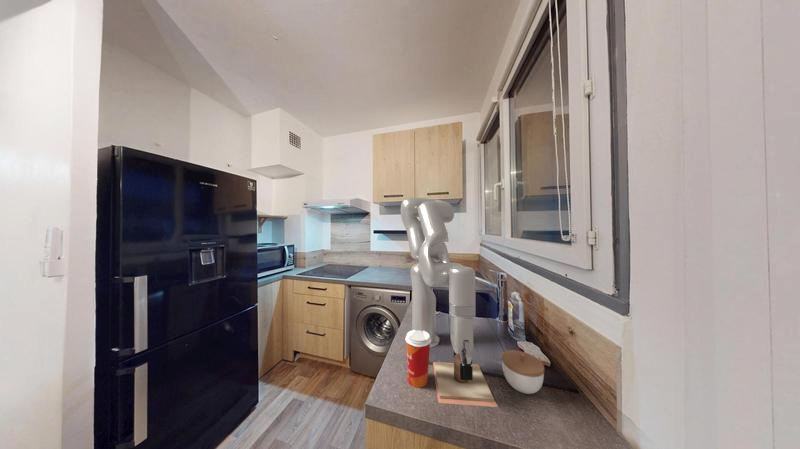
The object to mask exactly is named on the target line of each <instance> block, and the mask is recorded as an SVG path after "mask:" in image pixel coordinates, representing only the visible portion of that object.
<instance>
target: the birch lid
mask: <svg viewBox="0 0 800 449" xmlns="http://www.w3.org/2000/svg"><path fill="white" fill-rule="evenodd" d="M465 358H466V355H463V359H465ZM434 362H435V370H436V377H437V384H438V391H439V397H440V398H441V399H456V400H471V401H485V402H494V399H495V398H493V397H494V396H492V395H493V393H492V391H491V389H490V387H489V384H488V383H486V382H487V380H486V379H484V378H485V376H484V374H483V372H482V369H481V368H479V367H480V366H478V365H479V364H477V365H473V379H472V380H461V379H460V364H461V357H460V354H458V355H455V356H454V355H453V362H442V363H436V362H437V361H434ZM480 369H481V370H480ZM482 374H483V375H482ZM483 376H484V377H483ZM485 380H486V381H485ZM487 384H488V385H487ZM489 389H490V390H489ZM490 391H491V392H490ZM491 393H492V394H491Z"/></svg>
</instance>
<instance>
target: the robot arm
mask: <svg viewBox="0 0 800 449" xmlns="http://www.w3.org/2000/svg"><path fill="white" fill-rule="evenodd" d="M400 204H401V205H400V217H401V221H402V223H403V225H404V228H405V230H406V234H407V241H408V247H409V253H410V255H411V258H412V259H413V260H415V261H418V262H417V263H415V264H413V265H412V266H411V268H410V272H409V274H410V280H411V292H412V293H411V294H412V295H411V296H412V298H411V300H412V301H411V302H412V304H411V306H412V307H411V308H412V309H411V314H412V315H411V330H417V331H418V330H421V331H426V332H427V333H428V334H429V335H430V338H431V343H430V348H431V349H432V348H434V347H437V346H438V345H439V344H440V337H439V336H438V334H436V327H437V326H436V323H437V322H436V321H437V318H436V317H437V316H436V314H437V312H436V311H437V309H436V308H437V296H436V295H435V292H434V291H433V290H432V289H431V288H439V287H448V307H449V308H448V313H449V315H450V316H451V317H450V333H449V334H450V335H449V337H450V338H449V339H450V343H451V346H452V349H453V357H454V356H455V355H458V354H460V357H461V364H460V379H461V380H472V379H473V364H474V363H473V354H474V323H473V318H475V317H476V313H477V312H476V271H475V269H474V268H472V267H470V266H464V265H462V264H461V263H459V262H451V260H450V259H451V258H450V256H449V255H450V254H449V252H448V251H449V250H448V248H447V244H446V243H445V241H446V239H448V236H449V235H448V234H449V233H448V230H447V227H446V224H448V223H451V222H452V221H453V219H454V216H455V210H454V209H455V208H454V207H453V206H452V204H451V203H450V202H448V201H444V200H440V199H435V198H425V197H424V198H423V197H408V198H404V200H402V201H401V203H400ZM432 260H433V261H432ZM463 355H465V356H466V358H465V359H463Z"/></svg>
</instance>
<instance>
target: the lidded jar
mask: <svg viewBox="0 0 800 449" xmlns="http://www.w3.org/2000/svg"><path fill="white" fill-rule="evenodd" d="M501 361H502V362H501V364H502V366H501V367H502V371H503V375H504V377H505V380H506V381H507V383H508V384H509V385H510V386H511V387H512V388H513V389H514V390H516V391H517V392H519V393H522V394H525V395H532V394H536V393H538V392H539V391H540V390H541V388H542V386H543V383H544V380H545V379H544V377H545V365H544V363H543V362H542V361H541V360H540V359H539V358H537V357H536V356H534V355H532V354H530V353H527V352H524V351H520V350H516V349H515V350H513V349H511V350H507V351H506V350H505V351H504V352H503V353H502V355H501Z"/></svg>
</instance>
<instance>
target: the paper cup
mask: <svg viewBox="0 0 800 449" xmlns="http://www.w3.org/2000/svg"><path fill="white" fill-rule="evenodd" d="M404 339H405V342H406V364H407V366H406V369H407V381H408V384H409V385H410V386H412V387H413V388H424V387H425V386H427V383H428V376H429V363H430V361H429V360H430V343H431V338H430V335H429V334H428V333H427V332H426V331H421V330H418V331H417V330H412V329H411V330H410V331H408V332H407V333H406V336H405V338H404Z"/></svg>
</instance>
